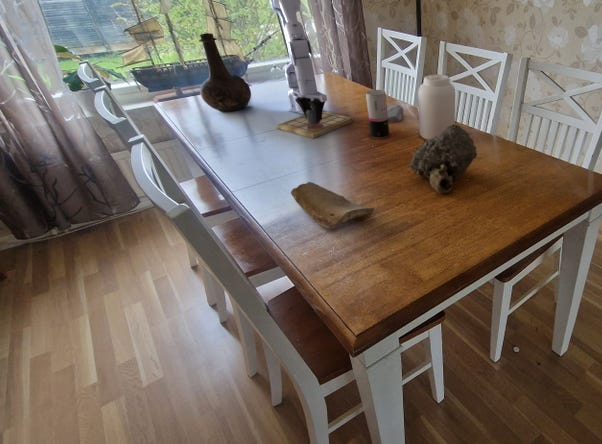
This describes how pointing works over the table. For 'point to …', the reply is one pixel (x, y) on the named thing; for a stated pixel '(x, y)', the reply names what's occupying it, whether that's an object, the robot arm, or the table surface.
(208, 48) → the glass bottle
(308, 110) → the black canister
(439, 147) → the encrusted bottle
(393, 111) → the stone block
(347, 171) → the table surface
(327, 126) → the board
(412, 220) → the table surface
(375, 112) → the beverage can
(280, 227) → the table surface
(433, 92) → the white jar
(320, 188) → the fossil
